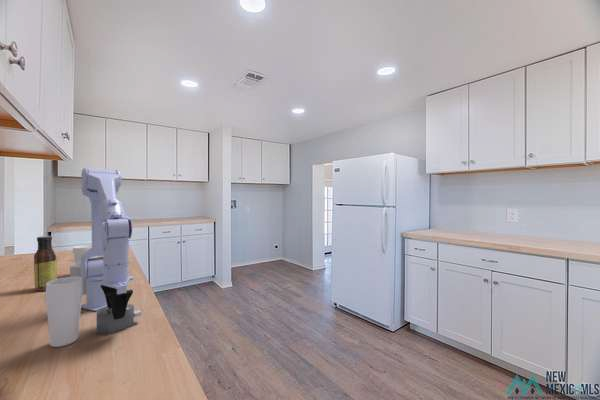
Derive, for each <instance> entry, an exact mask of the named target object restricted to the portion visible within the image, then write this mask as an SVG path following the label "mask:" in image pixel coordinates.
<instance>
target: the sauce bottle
mask: <svg viewBox="0 0 600 400" xmlns="http://www.w3.org/2000/svg"><path fill="white" fill-rule="evenodd" d="M52 240H53V237H52V236H51V235H43V236H42V235H41V236H38V237H36V242H37V250H36V251H35V253H34V255H33V271H34V276H33V277H34V287H35V288H34V289H35V291H36V292H37V291H38V292H46V283H47V282H49V281H52V280H55V279H58V267H57V254H56V253H55V251H54V249H53V246H52Z"/></svg>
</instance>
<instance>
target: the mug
mask: <svg viewBox="0 0 600 400" xmlns="http://www.w3.org/2000/svg"><path fill="white" fill-rule="evenodd" d="M69 277H81V262H79V263H75V262H74V263H72V264H71V265H70V267H69ZM81 278H82V277H81ZM82 283H83V295H86V292H87V280H86V279H83V278H82Z"/></svg>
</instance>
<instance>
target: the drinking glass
mask: <svg viewBox="0 0 600 400" xmlns="http://www.w3.org/2000/svg"><path fill="white" fill-rule="evenodd" d="M83 295H84V294H83V283H82V278H81V277H70V276H67V277H60V278H57V279H55V280H52V281H49V282H47V283H46V291H45V308H46V315H47V324H48V325H47V326H48V333H49V335H48V336H49V337H48V338H49V346H51V347H53V348H61V347H65V346H68V345H71V344H73V343H74V342H76V341H78V339H79V336H80V321H81V313H82V311H81V310H82V308H81V305H83V303H82V302H83Z"/></svg>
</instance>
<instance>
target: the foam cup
mask: <svg viewBox="0 0 600 400" xmlns="http://www.w3.org/2000/svg"><path fill="white" fill-rule="evenodd" d="M91 248H92V243H91V244H81V245H75V246H73V247H72V254H73V259H74V264H75V263H79V262H81V257H82V255H83V254H84V253H85V252H87V251H88V250H89V249H91ZM91 258H99V256H94V257H91ZM91 258H89V259H91Z"/></svg>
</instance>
